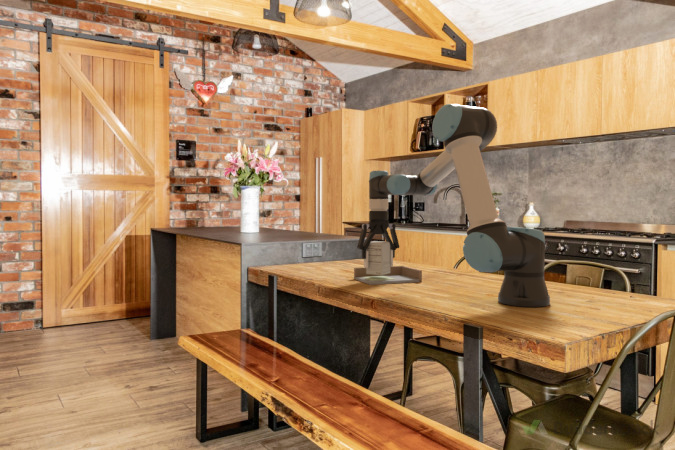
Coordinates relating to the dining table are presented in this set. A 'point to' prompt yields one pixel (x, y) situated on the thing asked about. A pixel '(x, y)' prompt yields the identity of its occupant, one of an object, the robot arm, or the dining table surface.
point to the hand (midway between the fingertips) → (378, 266)
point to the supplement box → (378, 258)
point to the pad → (378, 278)
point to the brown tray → (391, 275)
